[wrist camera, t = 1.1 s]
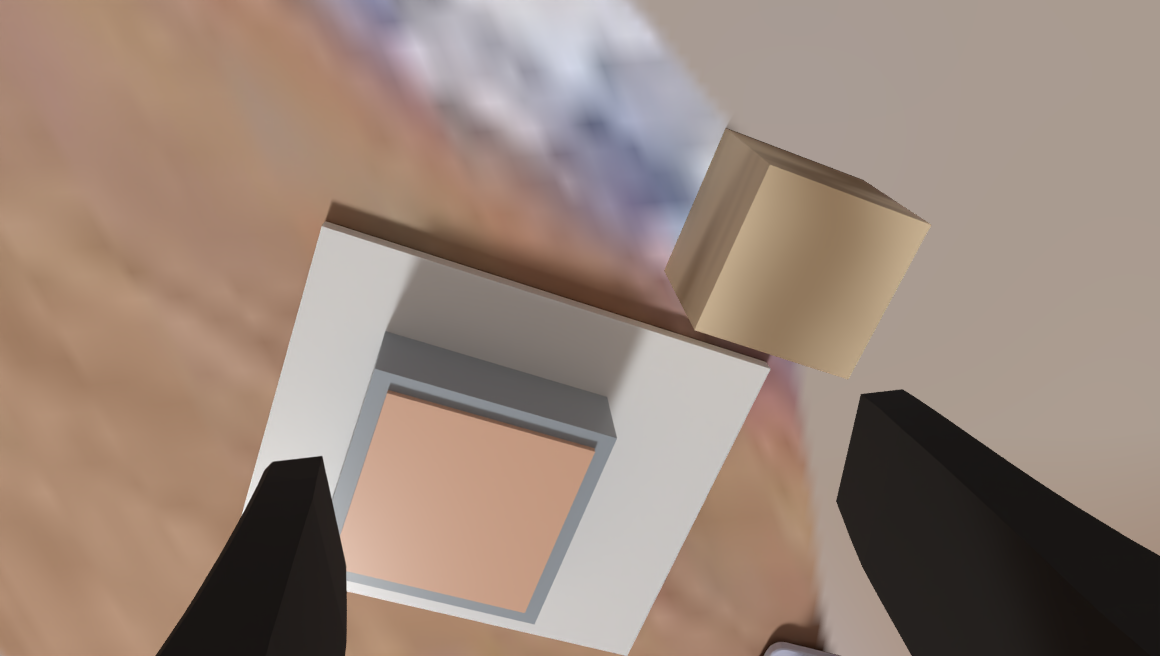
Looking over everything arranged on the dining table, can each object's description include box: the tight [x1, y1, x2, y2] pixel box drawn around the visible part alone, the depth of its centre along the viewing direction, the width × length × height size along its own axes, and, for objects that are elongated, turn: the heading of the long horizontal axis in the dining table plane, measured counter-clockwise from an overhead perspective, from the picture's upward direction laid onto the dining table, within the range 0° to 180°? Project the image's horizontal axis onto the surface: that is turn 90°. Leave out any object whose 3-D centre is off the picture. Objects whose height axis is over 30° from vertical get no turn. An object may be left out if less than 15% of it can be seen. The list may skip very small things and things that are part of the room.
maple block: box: [664, 128, 931, 379], centre depth 24 cm, size 4×4×4 cm
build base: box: [242, 221, 770, 656], centre depth 27 cm, size 14×12×3 cm
